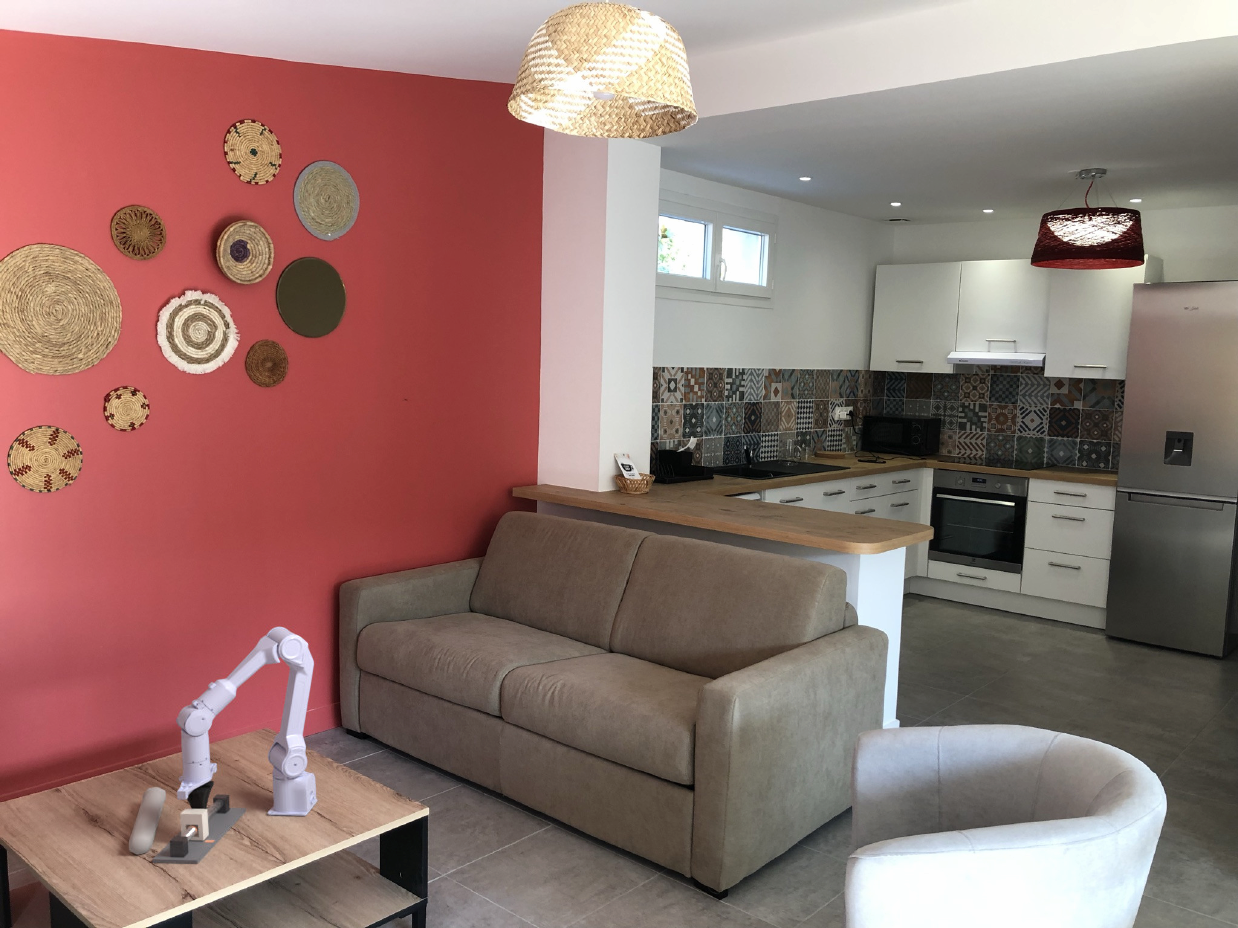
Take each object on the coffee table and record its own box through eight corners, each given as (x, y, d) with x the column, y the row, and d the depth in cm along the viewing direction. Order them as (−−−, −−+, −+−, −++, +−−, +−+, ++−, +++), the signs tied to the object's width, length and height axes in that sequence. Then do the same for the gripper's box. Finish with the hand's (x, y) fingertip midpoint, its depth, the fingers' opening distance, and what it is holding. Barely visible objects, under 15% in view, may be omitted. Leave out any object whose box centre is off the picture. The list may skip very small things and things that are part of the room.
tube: (155, 838, 214) (169, 788, 237) (129, 834, 212) (145, 784, 236) (148, 860, 214) (162, 808, 238) (122, 857, 212) (139, 805, 236)
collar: (208, 834, 220) (207, 808, 220) (203, 840, 218) (201, 814, 217) (187, 834, 221) (185, 808, 220) (181, 839, 218) (180, 813, 217)
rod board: (246, 810, 234) (245, 792, 233) (197, 863, 210) (196, 843, 210) (205, 810, 234) (204, 791, 234) (152, 862, 211) (151, 842, 210)
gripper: (194, 744, 227) (198, 799, 229) (162, 771, 213) (166, 830, 214) (224, 745, 227) (227, 800, 228) (193, 772, 212) (197, 831, 214)
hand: (199, 814), depth 221 cm, fingers closed
